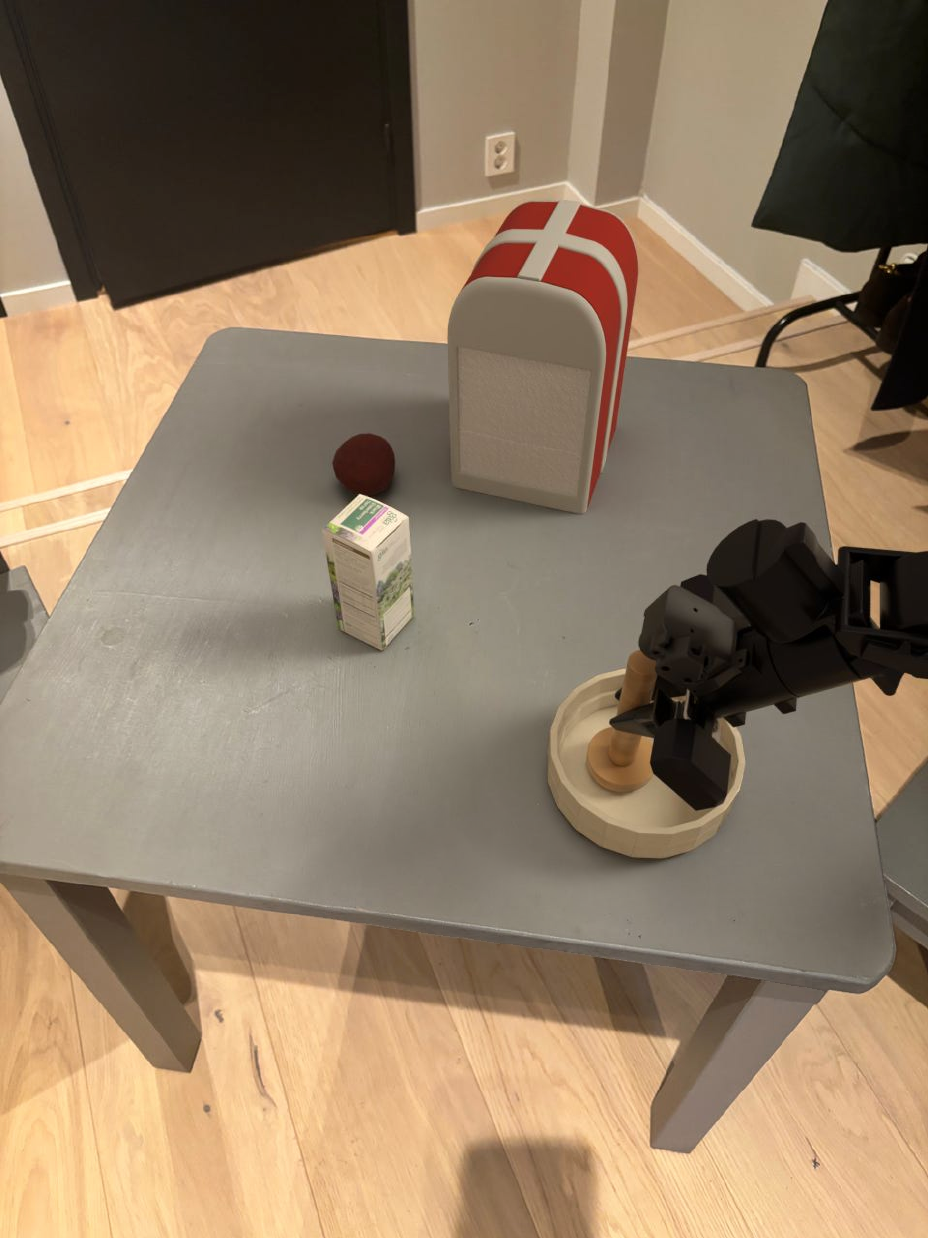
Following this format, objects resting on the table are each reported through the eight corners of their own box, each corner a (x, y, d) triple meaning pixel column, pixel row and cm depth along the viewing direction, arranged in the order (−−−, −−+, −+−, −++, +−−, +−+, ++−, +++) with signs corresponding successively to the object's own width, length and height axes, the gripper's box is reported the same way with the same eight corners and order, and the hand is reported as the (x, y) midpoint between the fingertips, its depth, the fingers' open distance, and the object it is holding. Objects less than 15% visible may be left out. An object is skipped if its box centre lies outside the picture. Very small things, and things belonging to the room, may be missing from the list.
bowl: (745, 730, 83) (758, 698, 79) (712, 888, 73) (725, 861, 69) (576, 680, 86) (580, 648, 82) (522, 824, 77) (525, 795, 73)
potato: (322, 498, 103) (315, 458, 99) (352, 455, 108) (347, 414, 104) (381, 513, 102) (376, 473, 97) (409, 468, 107) (406, 427, 102)
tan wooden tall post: (637, 726, 81) (663, 623, 70) (666, 781, 78) (698, 682, 67) (576, 743, 80) (592, 641, 69) (602, 800, 77) (623, 703, 65)
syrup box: (370, 594, 94) (356, 489, 83) (417, 617, 92) (409, 512, 81) (337, 630, 91) (318, 526, 80) (384, 654, 89) (371, 551, 78)
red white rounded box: (447, 486, 104) (440, 267, 84) (492, 398, 115) (495, 185, 94) (586, 515, 101) (615, 295, 80) (619, 422, 112) (651, 206, 91)
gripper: (736, 496, 66) (574, 570, 76) (709, 698, 54) (523, 753, 65) (816, 589, 70) (653, 647, 81) (807, 794, 59) (619, 830, 69)
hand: (615, 711), depth 74 cm, fingers closed on tan wooden tall post, 2 cm apart
